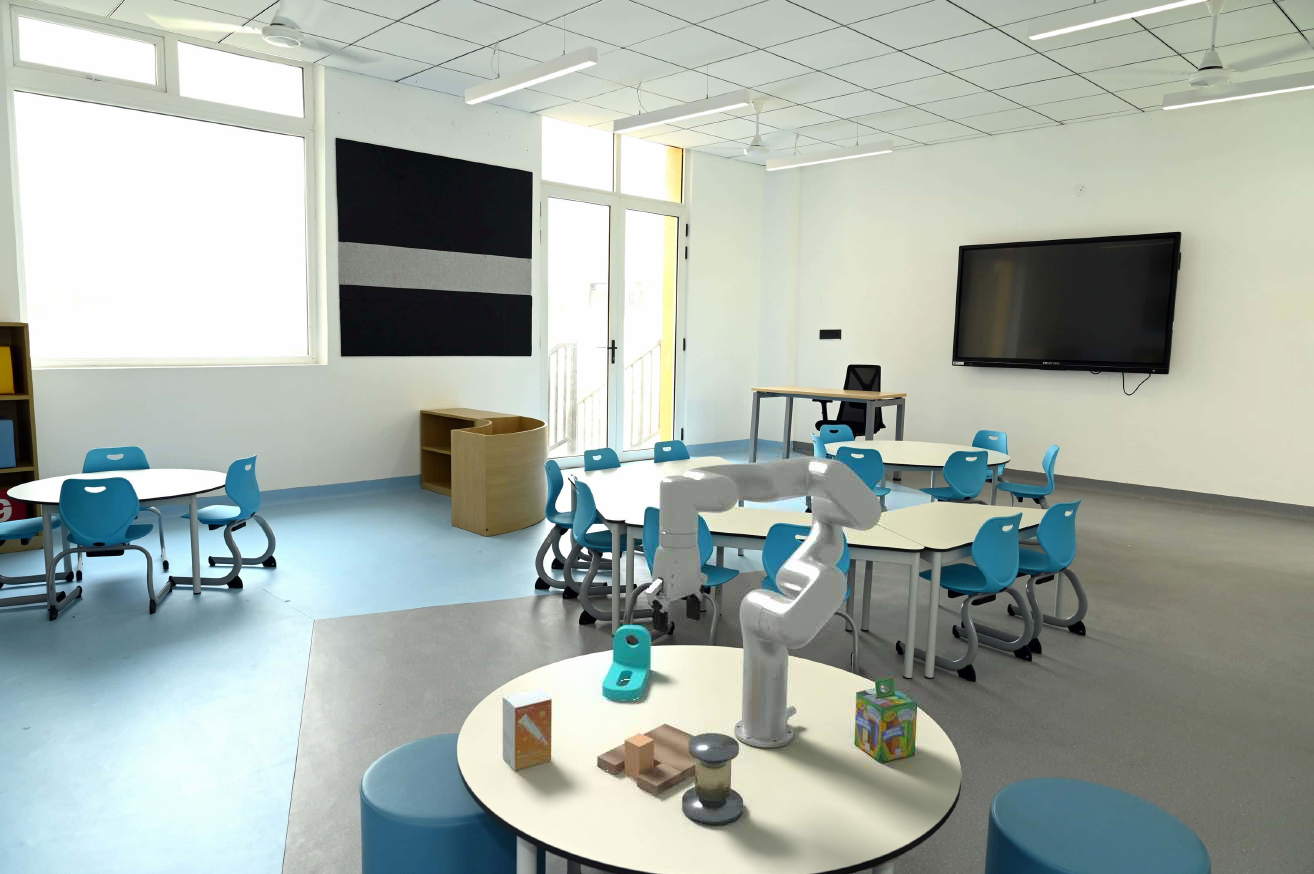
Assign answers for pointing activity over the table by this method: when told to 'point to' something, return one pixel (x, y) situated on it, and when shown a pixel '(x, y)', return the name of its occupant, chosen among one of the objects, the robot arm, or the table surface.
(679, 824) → the table surface
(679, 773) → the notched board
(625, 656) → the bracket
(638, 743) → the light orange block
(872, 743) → the chalk box
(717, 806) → the bobbin
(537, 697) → the small box
